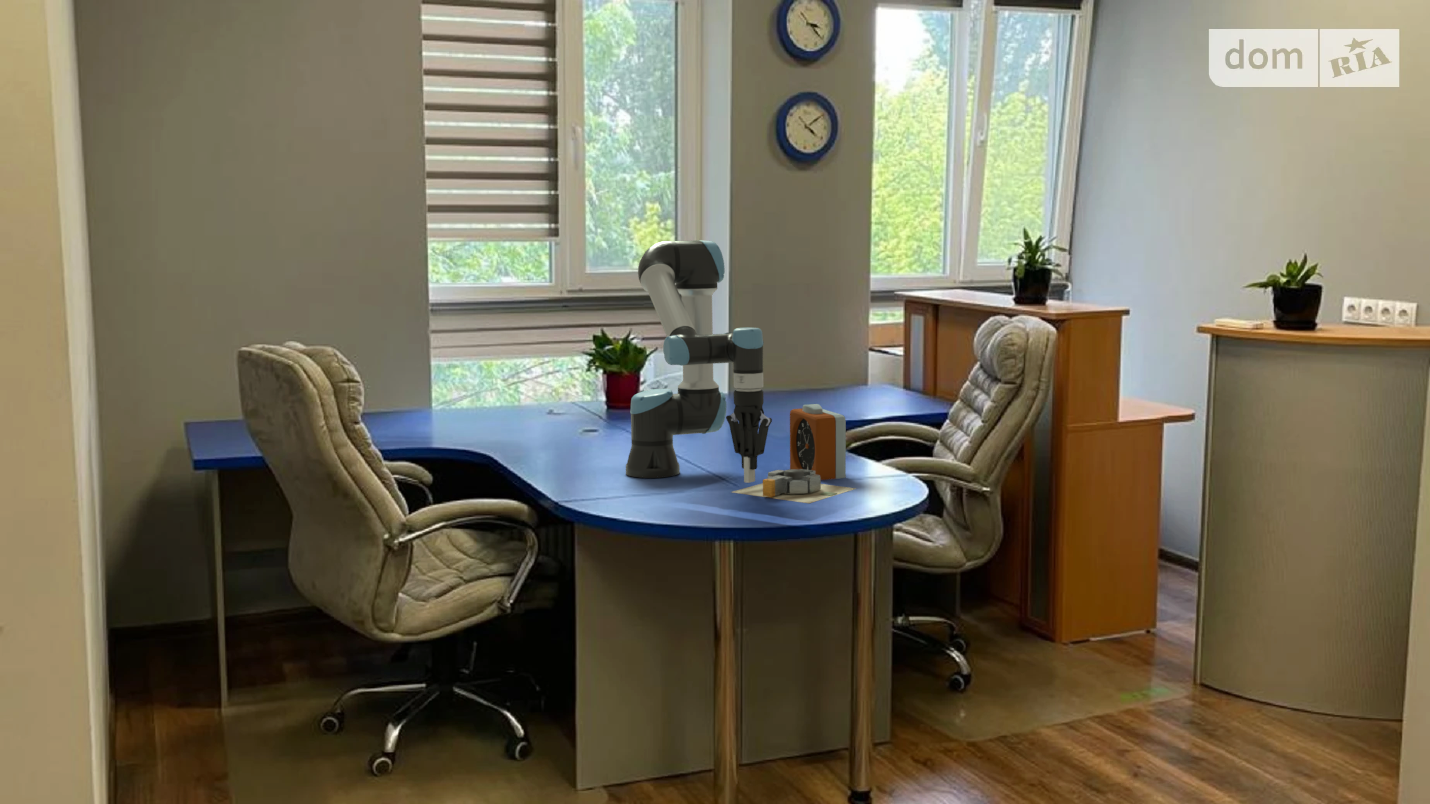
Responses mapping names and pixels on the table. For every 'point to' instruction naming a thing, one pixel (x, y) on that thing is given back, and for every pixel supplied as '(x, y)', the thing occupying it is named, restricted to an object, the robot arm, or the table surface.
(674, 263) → the robot arm
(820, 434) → the alarm clock
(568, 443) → the table surface
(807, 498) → the collar base
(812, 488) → the grey handled ring
